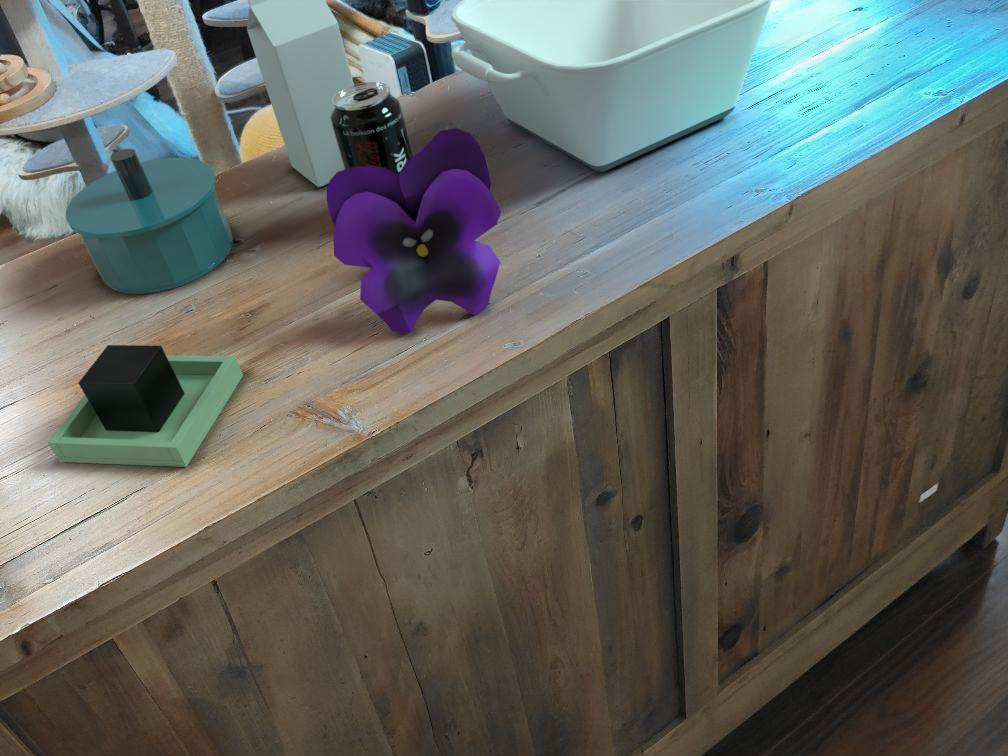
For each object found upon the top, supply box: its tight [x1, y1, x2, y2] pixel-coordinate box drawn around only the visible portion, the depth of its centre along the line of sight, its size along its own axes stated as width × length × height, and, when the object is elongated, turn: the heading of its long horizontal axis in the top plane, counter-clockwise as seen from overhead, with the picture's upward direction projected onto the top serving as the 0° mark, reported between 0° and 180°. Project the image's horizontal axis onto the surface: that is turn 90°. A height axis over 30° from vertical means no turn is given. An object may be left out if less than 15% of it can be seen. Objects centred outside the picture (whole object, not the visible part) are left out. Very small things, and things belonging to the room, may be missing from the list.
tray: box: [47, 354, 244, 468], centre depth 84 cm, size 12×12×2 cm
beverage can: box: [331, 81, 414, 176], centre depth 99 cm, size 7×7×12 cm
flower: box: [326, 127, 502, 334], centre depth 90 cm, size 15×15×14 cm
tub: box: [450, 0, 773, 173], centre depth 106 cm, size 34×27×13 cm
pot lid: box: [65, 148, 217, 238], centre depth 97 cm, size 15×15×5 cm
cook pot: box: [77, 187, 234, 295], centre depth 101 cm, size 14×14×6 cm
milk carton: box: [246, 0, 355, 188], centre depth 106 cm, size 7×7×19 cm
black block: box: [78, 344, 185, 432], centre depth 82 cm, size 5×5×5 cm
